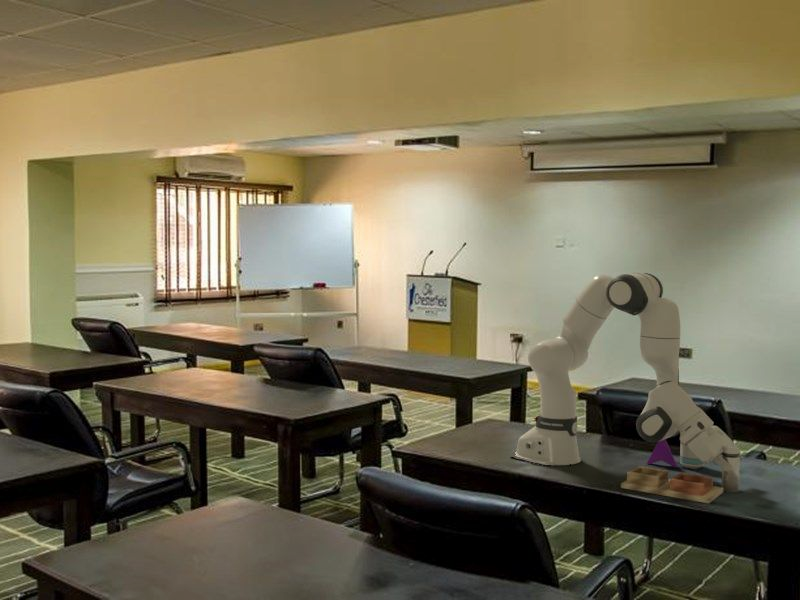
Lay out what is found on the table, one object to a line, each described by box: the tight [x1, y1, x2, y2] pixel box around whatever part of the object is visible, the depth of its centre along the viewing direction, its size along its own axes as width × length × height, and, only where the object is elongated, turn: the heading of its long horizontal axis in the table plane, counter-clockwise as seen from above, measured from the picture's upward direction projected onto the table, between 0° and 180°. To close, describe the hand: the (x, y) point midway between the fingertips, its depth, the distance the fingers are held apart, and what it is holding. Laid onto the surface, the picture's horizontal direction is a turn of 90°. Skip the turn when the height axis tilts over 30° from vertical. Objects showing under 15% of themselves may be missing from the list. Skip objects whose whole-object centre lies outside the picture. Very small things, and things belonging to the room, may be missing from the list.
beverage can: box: [679, 441, 705, 470], centre depth 244 cm, size 7×7×12 cm
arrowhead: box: [646, 439, 678, 469], centre depth 246 cm, size 10×2×10 cm
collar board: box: [620, 465, 724, 504], centre depth 220 cm, size 24×13×4 cm, turn 52°
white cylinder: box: [721, 445, 741, 494], centre depth 219 cm, size 5×5×12 cm
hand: (733, 467), depth 219 cm, fingers closed on white cylinder, 4 cm apart
